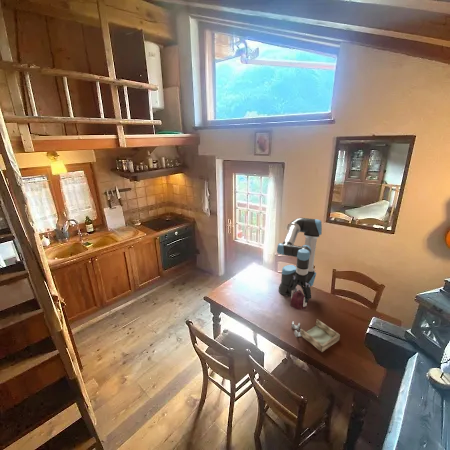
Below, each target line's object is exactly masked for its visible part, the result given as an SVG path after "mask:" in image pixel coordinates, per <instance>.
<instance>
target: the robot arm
mask: <svg viewBox="0 0 450 450" xmlns="http://www.w3.org/2000/svg"><path fill="white" fill-rule="evenodd" d="M322 228H323V224H322V220H321V219H316V218H306V217H298V218H295V219H293V220H292V221H290V222H289V224H288V226H287V231H286V234H285V236H284V239H283V241H282V243H278V244H277V247H276V252H277V253H276V254H278V255H282V256H287V257H295V258H296V264H295V265H296V266H295V265H294V264H293V265H292V264H287V265H284V266H282V269H281V279H280V281H281V282H280V284H279V286H278V292H279V294H281V295H282V296H284V297H290V300H291V299H292V296H293V294H294V293H295V292H297V291H298V290H297V289H298V288H297V286H299V287H301V289H302V290H301V291H302V293H303V295H304V296H305V298H304V301H303V307H305V306H306V307H307V306H308V305H307V304H308V303H309V300H311V299H312V292H311V287H312V286H314V283H315V279H316V276H317V272H315V271H316V269H314V263H315V258H316V257H315V255H316V248H317V240H318V238H320V236H321V235H322V232H323V231H322V230H323V229H322ZM299 233H303V236H304V238H305V239H304V244H303V245H302V246H300V245H295V243H296V240H297V236H298V234H299Z"/></svg>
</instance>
